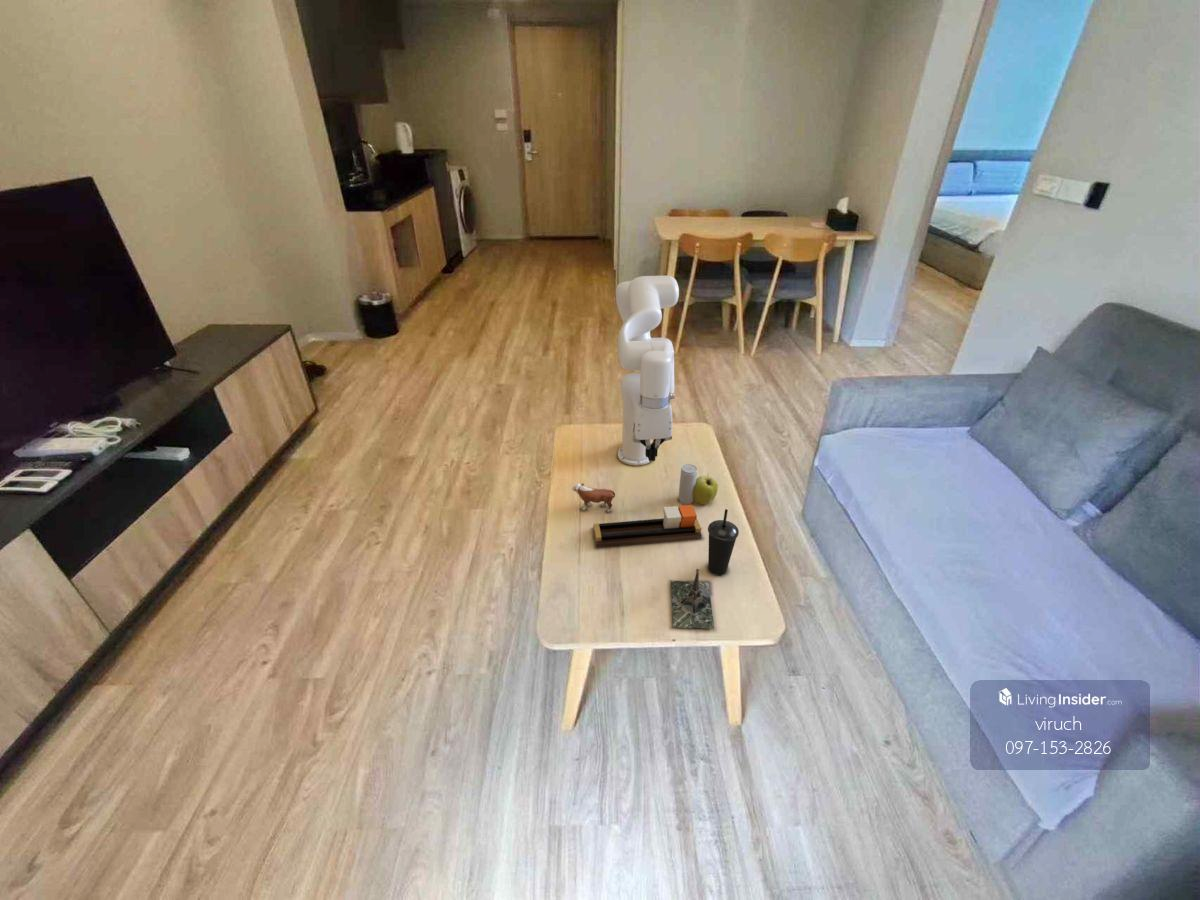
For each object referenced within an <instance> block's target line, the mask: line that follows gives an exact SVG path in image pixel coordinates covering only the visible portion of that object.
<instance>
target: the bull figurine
mask: <svg viewBox="0 0 1200 900" xmlns="http://www.w3.org/2000/svg"><path fill="white" fill-rule="evenodd" d="M571 490H572V491H573V492H575V493H576V494H577V495H578V497H579V499H581V500H582V501H583V507H582V508H581V511H585V510H587V507H590V506H591V505H592V503H595V504H600V503H602V502H603V503H602V504H601V505H600V506H601V508H603V507H606V506H607V507H608V508H607V509H606V513H610V512H612V507H613V503H612V502H613V499H614V498H615V497H616V492H615V491H614V490H612V489H606V488H594V487H589V486H588V487H587V486H585V483H584V482H581V484H580V483H579V482H578V483H576V484H574V485H573V487H572V488H571Z"/></svg>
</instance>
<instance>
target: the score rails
mask: <svg viewBox="0 0 1200 900" xmlns="http://www.w3.org/2000/svg"><path fill="white" fill-rule="evenodd" d="M663 521H664V517H663V518H651V519H641V520H640V519H639V520H630V521H629V520H627V521H616V522H615V521H614V522H603V523H598V522H597V523H593V526H594V530H593V533H594V532H595V536H594V539H595V538H596V541H602V540H614V539H626V538H637V537H649V536H661V535H672V534H684V533H701V532H702V527H701V525H700V523H699V520H698V518H697V519H696V520H695V525H694V526H693V527H681V528H670V529H658V530H646V531H634V532H623V533H611V534H601V533H600V530H603V529H614V528H626V527H638V526H650V525H662V524H663ZM701 534H702V533H701Z"/></svg>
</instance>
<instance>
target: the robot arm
mask: <svg viewBox="0 0 1200 900" xmlns="http://www.w3.org/2000/svg"><path fill="white" fill-rule="evenodd" d="M679 297H680V287H679V284H678V281H677V280H676V278H675V277H674V276H671V275H642V276H637V277H635V278H633V279H632V280H626V281H622V282H619V284H617V286H616V287H615V302H616V306H617V310H618V312H619V313H618V314H619V315H620V318H621V320H622V325H621V327H620V329H619V331H618V335H617V350H618V360H619V364H620V366H621V368H623V369H624V370H625V371H633V372H629V373H626V374H624V375H623V376H622V378H621V380H620V393H621V401H622V436H621V437H622V439H621V440H622V441H621V443H622V444H621V447H620V448H619V449H618V450H617V458H618V460H619V461H620V462H622V463H623V464H626V465H628V466H629V465H630V466H644V465H647V464H649V463H650V462H652V461H653V462H656V457H658V450H659V448H660V446H661V445H662V444H663V443H664V442H667V441H671V440H672V439H673V435H672V434H673V409H672V403H671V400H672V399H673V400H674V399H675V349H674V344H673V342H672V340H671V339H669V338H667V337H651V331H653V330H654V329H656V328H657V327H658V326H660V324H661V322H662V320H663V313H662V309H669V308H672V307H674V306H676V305H677V303H678V301H679ZM634 371H636V372H634ZM651 440H652V442H651Z"/></svg>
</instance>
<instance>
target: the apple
mask: <svg viewBox="0 0 1200 900" xmlns="http://www.w3.org/2000/svg"><path fill="white" fill-rule="evenodd" d="M718 488H719V484H718V482H717V480H716V479H715V478H712V477H711V476H709V475H701V476H697V477H696V484H695V487H694V491H693V498H694V501H695V502H696V503H698V504H700V505H709V504H710V503H711V502H712V501H713V500H714V499H715V498H716V496H717V494H718V490H719V489H718Z"/></svg>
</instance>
